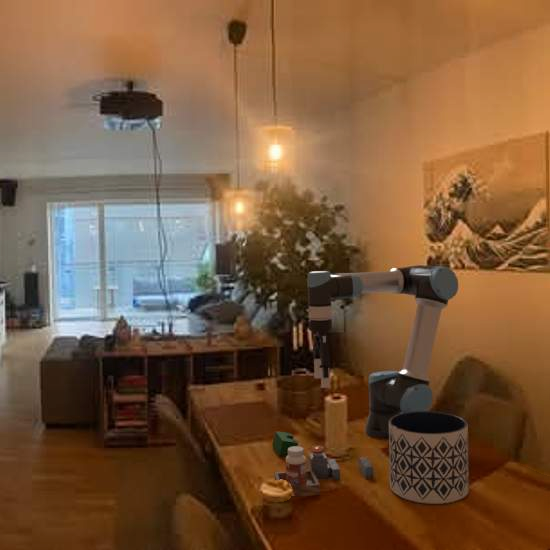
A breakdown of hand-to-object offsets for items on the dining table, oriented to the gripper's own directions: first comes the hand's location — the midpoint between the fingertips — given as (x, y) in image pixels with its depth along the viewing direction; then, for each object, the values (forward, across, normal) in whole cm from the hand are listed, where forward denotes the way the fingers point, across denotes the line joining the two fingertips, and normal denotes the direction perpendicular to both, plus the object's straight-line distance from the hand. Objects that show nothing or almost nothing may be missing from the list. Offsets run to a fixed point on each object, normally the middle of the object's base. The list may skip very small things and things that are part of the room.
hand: (322, 382), depth 211 cm
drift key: (+25, +12, -4) cm, 28 cm away
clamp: (+27, -13, -12) cm, 32 cm away
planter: (+27, +28, +26) cm, 47 cm away
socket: (+27, +12, +3) cm, 29 cm away
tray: (+27, +20, -12) cm, 35 cm away
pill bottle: (+26, +20, -12) cm, 35 cm away
